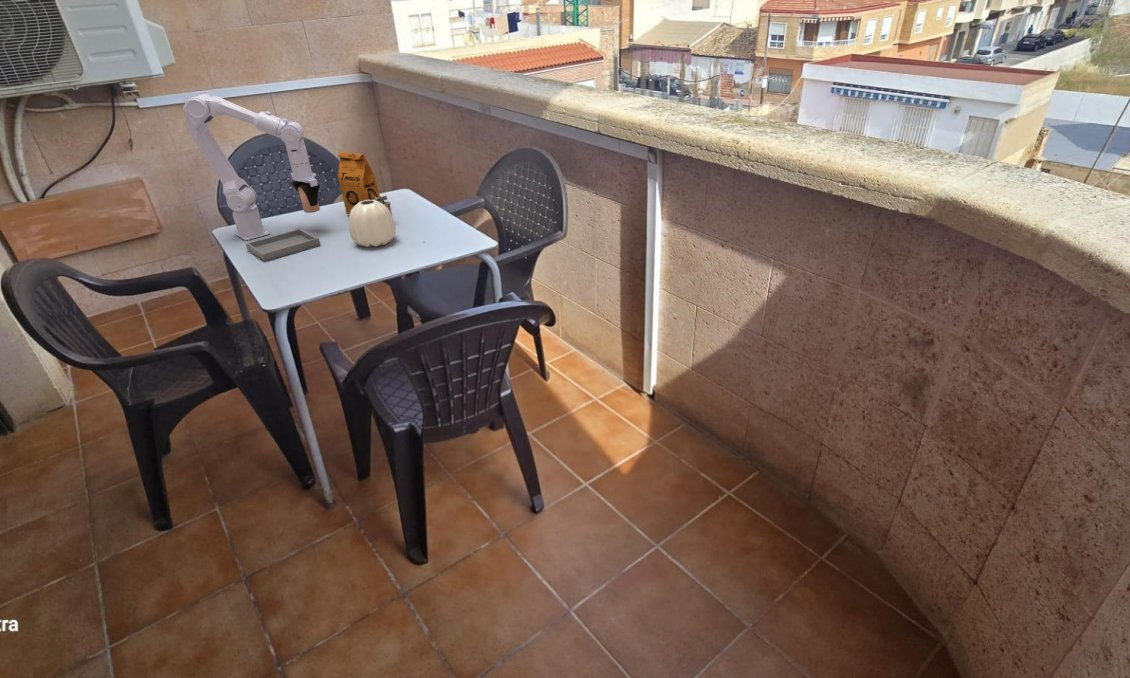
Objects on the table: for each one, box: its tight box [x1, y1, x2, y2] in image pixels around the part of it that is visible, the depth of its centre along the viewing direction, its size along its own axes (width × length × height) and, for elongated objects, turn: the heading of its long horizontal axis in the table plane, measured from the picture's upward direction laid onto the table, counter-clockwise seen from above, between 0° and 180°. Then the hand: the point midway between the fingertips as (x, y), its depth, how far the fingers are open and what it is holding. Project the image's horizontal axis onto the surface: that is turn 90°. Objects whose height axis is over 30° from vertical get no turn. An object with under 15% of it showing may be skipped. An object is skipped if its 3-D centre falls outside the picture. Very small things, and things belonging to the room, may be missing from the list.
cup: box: [298, 186, 321, 214], centre depth 190 cm, size 5×5×8 cm
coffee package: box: [337, 151, 381, 215], centre depth 204 cm, size 10×12×22 cm
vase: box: [348, 200, 397, 248], centre depth 182 cm, size 14×14×13 cm
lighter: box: [374, 195, 393, 216], centre depth 196 cm, size 8×3×10 cm, turn 143°
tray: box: [245, 228, 321, 263], centre depth 182 cm, size 14×18×2 cm
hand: (310, 203), depth 191 cm, fingers closed on cup, 5 cm apart
